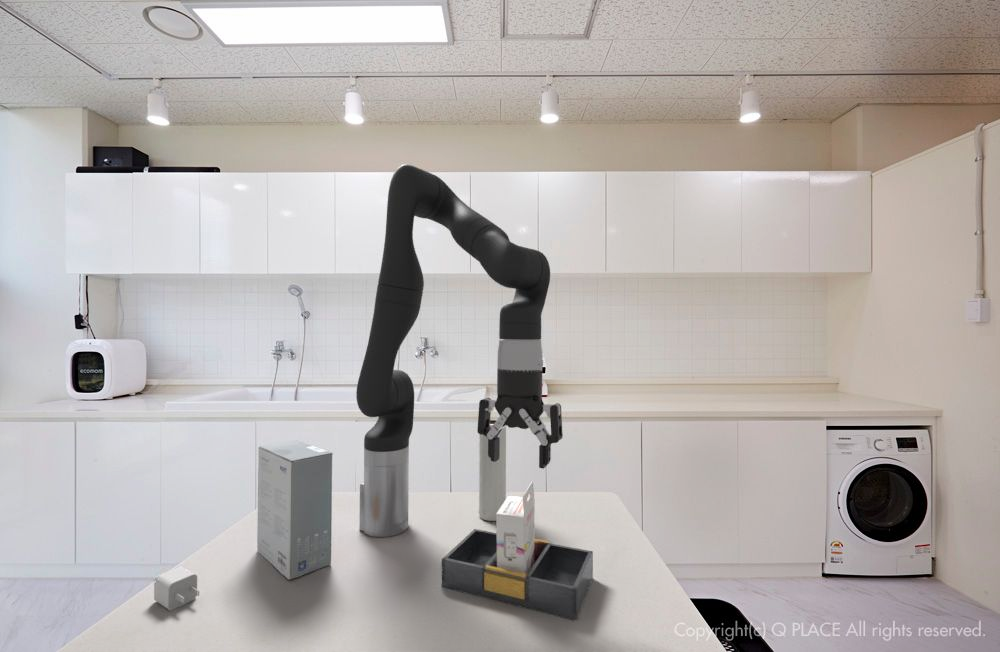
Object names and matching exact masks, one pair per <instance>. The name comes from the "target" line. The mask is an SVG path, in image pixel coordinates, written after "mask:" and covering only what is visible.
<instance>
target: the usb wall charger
mask: <svg viewBox="0 0 1000 652" xmlns="http://www.w3.org/2000/svg"><path fill="white" fill-rule="evenodd" d="M168 572H169V573H168ZM167 573H168V574H167ZM165 574H166V575H165ZM158 579H159V580H158ZM155 581H156V582H155ZM153 582H155V583H153V586H154V589H153V592H154V593H153V599H154V601H155V602H156V603H158V604H160V605H161V606H163V607H164V608H166V609H167V610H169V611H172V610H175V609H176V608H180V607H181V606H183V605H186V604H188V603H190V602H191V601H194V600H195V599H196V598H197V597H199V596H200V590H198V576H197V574H196V573H193V572H192V571H190V570H188V569H186V568H185V567H183V566H178V567H176V568H173V569H170V570H168V571H165V572H163V573H160V574H159V575H157V576H156V577H155V578H154V581H153Z"/></svg>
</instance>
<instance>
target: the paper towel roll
mask: <svg viewBox="0 0 1000 652" xmlns="http://www.w3.org/2000/svg"><path fill="white" fill-rule="evenodd" d="M496 421H497V419H490V428H492V427H493V425H494V423H495V422H496ZM478 434H479V433H478ZM498 437H499V438H500V453H499V460H497V461H496V462H493V461H491V458H489V456H488V438H487V437H486V436H484V435H482V434H481V435H480V434H479V435H478V441H479V442H478V447H479V448H478V454H479V455H478V459H479V460H478V516H479V518H480V519H481V520H484V521H489V522H496V513H497V512H498V510H499V509H500V507H501V506H502V505H503V503H504V502H505V500H506V499H507V497H506V495H507V493H506V492H507V426H506V427H505V428H504V429H503V430H502V431H501V433H500V434H499V435H498Z"/></svg>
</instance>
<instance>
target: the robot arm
mask: <svg viewBox="0 0 1000 652" xmlns="http://www.w3.org/2000/svg"><path fill="white" fill-rule="evenodd" d="M387 194H388V195H387V204H386V222H385V234H384V235H385V236H384V243H383V244H384V246H383V251H382V260H381V264H380V265H381V266H380V271H379V277H378V281H377V283H378V284H377V287H376V295H375V299H374V300H375V301H374V307H373V308H374V309H373V314H372V315H373V316H372V319H371V320H372V321H371V326H370V330H369V335H368V336H369V337H368V341H367V346H366V350H365V355H364V358H363V361H362V365H361V369H360V373H359V377H358V382H357V385H356V392H355V393H356V403H357V406H358V409H359V410H360V412H361V413H362V414H363V415H364V416H365V417H368V418H377V420H376V423H375V424H374V425H373V426H372V427H371V429H369V430H368V431H367V432H366V433H365V435H364V437H363V438H364V439H363V482H361V483H360V484H359V530H361V531H363V532H364V534H366V535H367V536H370V537H373V538H386V537H393V536H397V535H399V534H402V533H404V532H405V531H407V530H408V528H409V501H410V500H409V491H410V490H409V489H410V488H409V484H410V482H409V477H410V476H409V475H410V474H409V473H410V472H409V471H410V470H409V469H410V465H409V464H410V463H409V461H410V460H409V459H410V457H409V456H410V437H411V436H412V435H411V434H412V432H413V428H414V417H415V415H414V411H415V387H414V384H413V381H412V378H411V377H410V375H409V374H408V373H406V372H405V371H403V370H401V369H394V368H395V365H396V364H395V363H396V359H397V356H398V352H399V350H400V348H401V346H402V345H403V343H404V341H405V339H406V337H407V335H408V334H409V333H410V331H411V329H412V328H413V326H414V324H415V322H416V321H417V318H418V317H419V313H420V311H421V310H420V309H421V305H422V299H423V293H424V288H425V287H424V286H425V283H424V282H425V279H424V274H423V271H422V267H421V264H420V260H419V258H418V255H417V252H416V250H415V249H416V248H415V244H414V237H413V235H414V233H413V232H414V224H415V223H414V222H415V217H417V218H419V219H420V218H421V219H426V220H427V219H428V220H430V221H433V222H435V223H437V224H439V225H442V227H443V226H444V228H446V229H447V230H448V231H449V232H450V234H451V236H452V238H453V240H454V241H455V243H456V244H457V245H458V246H459V248H461V249H462V250H463V251H465V252H466V253H467V254H468V255H469V256H471V257H472V258H473V259H474V260H476V261H478V262H479V264H480V265H481V267H482V268H483V270H484V271H485V272H486V274H487V275H488V277H489V278H490V279H491V280H493V281H494V282H495V283H497V284H498V285H500V286H501V287H505V288H508V289H515V292H514V297H513V300H512V302H511V303H506V304H505V305H503V306H502V307H501V308H500V311H499V320H498V321H499V324H498V325H499V326H498V327H499V330H498V334H499V335H498V336H499V337H498V338H499V339H498V347H497V364H496V365H497V367H496V368H497V371H496V372H497V373H496V374H497V377H496V379H497V382H496V386H497V387H496V394H497V395H496V396H497V397H496V400H495V399H494V400H493V399H491V398H490V397H486V398H483V399H480V400H479V404H478V414H477V415H478V416H477V418H478V419H477V434H480V435H481V434H482V435H484V436H486V437H487V438H488V456H489V458H491V461H493V462H496V461H497V460H499V453H500V438H499V437H498V435H499V434H500V433H501V431H502V430H503V429H504V428H505V427H506V428H507V427H508V428H509V429H510V428H511V429H514V428H519V429H522V430H527V429H530V431H531V433H532V434H533V435H534V436H535V437H536V438H537V440H538V441H539V443H540V445H539V446H538V449H539V450H538V451H539V452H538V455H539V456H538V461H539V463H538V467H539V469H543V470H544V469H545V468H546V467H547V466H548V465H549V464H550V463H551V459H552V457H551V456H552V455H551V452H552V448H551V445H552V444H557V443H559V441H561V440H562V439H563V437H564V436H563V420H562V419H563V416H562V405H561V403H557V402H556V403H554V404H553V403H552V404H549V403H548V404H545V403H544V401H543V366H544V360H543V357H544V356H543V348H542V345H543V344H542V313H543V310H544V307H545V303H546V298H547V296H548V291H549V287H550V282H551V267H550V264H549V263H550V262H549V260H548V257H546V255H545V254H544V253H543V252H541V251H539V250H537V249H535V248H534V249H533V248H529V247H524V246H521V245H518V244H516V243H514V242H512V241H510V238H509V235H508V233H506V232H505V231H504V230H503V229H502V228H501V227H499V226H498V225H497V224H496V223H494V222H492V221H491V220H489V218H486V217H485V216H483V215H482V214H480V213H479V212H477V211H476V210H474V209H472V207H470V206H468V205H467V204H466V203H465V202H464V201H463V200H461V198H459V196H458V195H457V194H456V193H455V192H454V191H453V190H452V188H450V186H449V185H448V184H447V183H446V182H444V180H443V179H442V178H441V177H439V176H437V175H435V174H433V173H431V172H429V171H427V170H424V169H422V168H420V167H416V166H415V165H412V164H405V163H404V164H401V165H400V166H399V167H397V168H396V170H395V171H394V173H393V174H392V177H391V180H390V183H389V187H388V193H387ZM494 408H495V410H496V411H497V413H498V415H499V417H498V418H497V419H496V420H497V421H496V422H495V423H494V425H493V427H492V428H490V420H491V416H492V415H491V413H492V412H493V411H494ZM544 412H545V414H546V416H547V417H548V418H549V419H550V433H549V431H548V430H547V429H546V425H545V423H544V422H543V420H542V419H541V418H540V417H541V415H542V414H543V413H544Z"/></svg>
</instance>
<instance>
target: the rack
mask: <svg viewBox="0 0 1000 652" xmlns="http://www.w3.org/2000/svg"><path fill="white" fill-rule="evenodd" d="M593 556H594V551H592V550H587V549H582V548H578V547H577V548H576V547H570V546H566V545H560V544H556V543H550V542H549V540H543V539H537V538H534V565H533V567H532V568H531V570H530V571H529V573H528V574H525V573H521V572H516V571H512V570H507V569H503V568H498V567H497V532H492V531H487V530H483V529H476V528H474V529H473V530H471V532H470V533H468V534H467V535H466V536H465V538H463V539H462V540H460V542H459V543H458V544H457V545H456V546H454V547H453V548H452V549H451V550H450V551H449V552H448V553H447V554H446V555H444V556H443V557H442V559H441V588H446V589H449V590H454V591H458V592H460V593H465V594H469V595H473V596H477V597H479V598H485V599H489V600H492V601H497V602H500V603H505V604H508V605H512V606H516V607H517V606H518V607H520V608H524V609H528V610H532V611H536V612H540V613H545V614H548V615H552V616H556V617H559V616H560V617H561V618H563V619H564V618H565V619H568V620H573V621H575V620H576V621H577V620H578V618H579V615H580V613H581V610H582V607H583V605H584V603H585V599H586V597H587V594H588V592H589V588H590V586H591V585H592V582H593V578H594V570H593V569H594V562H593V561H594V559H593V558H594V557H593ZM579 612H580V613H579Z"/></svg>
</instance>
